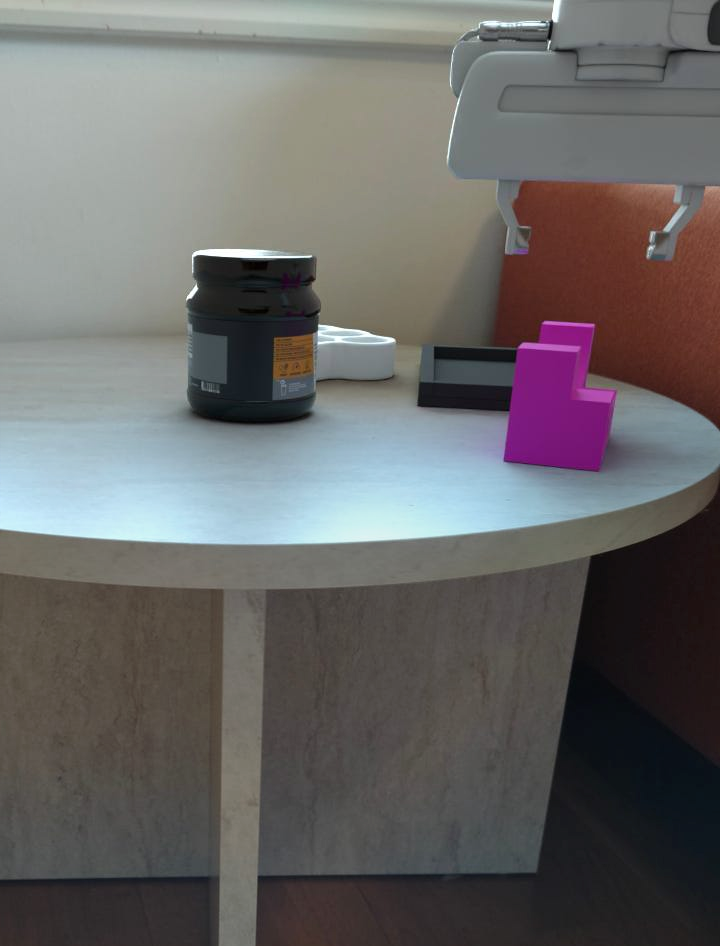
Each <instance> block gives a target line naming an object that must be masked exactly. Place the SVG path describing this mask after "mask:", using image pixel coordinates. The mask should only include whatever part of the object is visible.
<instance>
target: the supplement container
mask: <svg viewBox="0 0 720 946" xmlns="http://www.w3.org/2000/svg"><path fill="white" fill-rule="evenodd" d="M191 259H192V279H193V280H194V281H195V287H193V289H192V290H191V291H190V293H189V294H188V295H187V297H186V299H185V308H186V309H185V310H186V312H187V388H186V398H187V402H188V404H189V406H190V407H191V408H192V409H194V411H196V412H198V413H199V414H201V415H203V416H205V417H209V418H214V419H218V420H224V421H231V422H232V421H233V422H246V423H247V422H248V423H249V422H250V423H267V422H279V421H286V420H291V419H296V418H298V417H301V416H303V415H305V414H306V413H308V412H310V411H311V410H312V409H313V407H314V406H315V403H316V401H317V390H316V385H317V381H316V366H317V346H318V325H320V324H319V322H320V314H321V311H322V302H321V299H320V298H319V296H318V294H317V293H316V291H315V290H314V289H313V283H315V282H316V281H317V264H318V263H317V261H318V258H317V256H316V255H315V254H314V253H311V252H305V251H297V250H287V249H286V250H285V249H265V248H264V249H263V248H259V249H258V248H219V249H218V248H217V249H203V250H198V251H195V252H194V253H193V254H192V258H191Z"/></svg>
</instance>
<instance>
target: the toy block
mask: <svg viewBox="0 0 720 946" xmlns="http://www.w3.org/2000/svg"><path fill="white" fill-rule="evenodd" d="M595 328H596V324H595V323H585V322H567V321H553V320H552V321H550V320H544V321H543V322H542V323H541V326H540V332H539V339H538V342H524V341H523V342H522V343H521V344H520V345H519V346H518V347H517V348H518V350H517V358H516V366H515V373H514V381H513V389H512V397H511V405H510V410H509V413H508V421H507V428H506V429H507V430H506V437H505V444H504V446H505V447H504V453H503V454H504V455H503V462H510V463H511V462H512V463H521V464H529V465H539V466H547V467H555V468H557V467H558V468H566V469H575V470H585V471H594V472H600V469H601V466H602V463H603V459H604V457H605V452H606V449H607V447H608V443H609V439H610V434H611V428H612V423H613V418H614V417H613V416H614V410H615V406H616V399H617V393H618V390H617V389H610V388H598V387H586V385H587V379H588V373H589V367H590V362H591V361H590V359H591V353H592V348H593V341H594V336H595V335H594V334H595V330H596V329H595Z"/></svg>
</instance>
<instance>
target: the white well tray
mask: <svg viewBox="0 0 720 946" xmlns="http://www.w3.org/2000/svg"><path fill="white" fill-rule="evenodd" d="M396 347H397V342H396V339H395V338H393V337H389V336H381V335H375V334H371V333H370V332H369V331H364V330H360V329H349V328H341V327H337V326H334V325H324V324H319V325H318V346H317V366H316V382H318V381H324V380H339V379H340V380H352V381H379V380H386V379H387V380H388V379H390V378H392V377H393V375H394V374H395V373H394V372H395V360H396Z"/></svg>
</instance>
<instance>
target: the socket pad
mask: <svg viewBox="0 0 720 946" xmlns="http://www.w3.org/2000/svg"><path fill="white" fill-rule="evenodd" d="M421 345H422V346H421V356H420V365H419V366H420V367H419V378H418V380H419V381H418V390H417V391H418V393H417V402H416V403H417V405H416V406H418V407H435V408H436V407H437V408H453V409H456V408H457V409H473V410H474V409H475V410H492V411H510V405H511V397H512V389H513V381H514V373H515V366H516V358H517V350H518V347H505V346H504V347H501V346H499V347H498V346H480V345H478V346H477V345H453V344H452V345H451V344H433V343H432V344H430V343H422V344H421Z"/></svg>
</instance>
